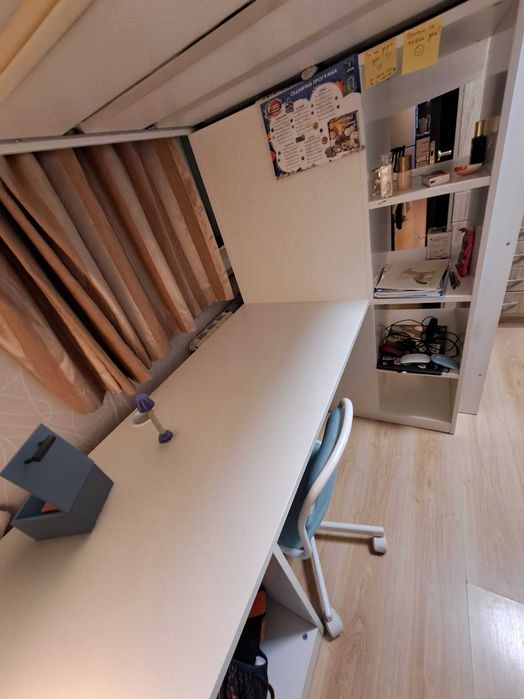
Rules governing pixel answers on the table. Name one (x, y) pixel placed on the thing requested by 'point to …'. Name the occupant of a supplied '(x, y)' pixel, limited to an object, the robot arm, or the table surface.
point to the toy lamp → (152, 416)
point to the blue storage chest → (62, 523)
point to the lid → (49, 468)
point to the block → (50, 509)
